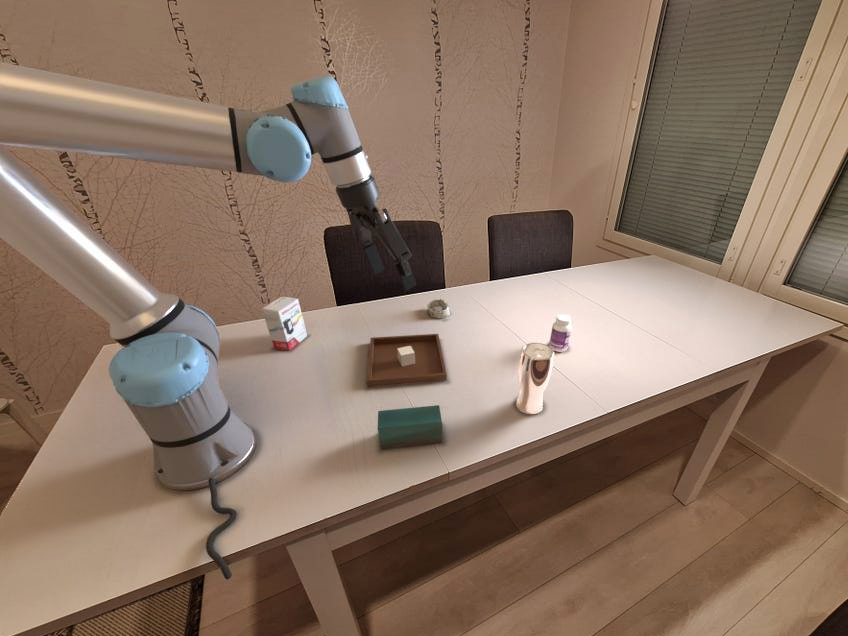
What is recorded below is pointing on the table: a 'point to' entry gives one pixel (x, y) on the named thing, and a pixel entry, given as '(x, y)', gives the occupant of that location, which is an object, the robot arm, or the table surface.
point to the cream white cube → (406, 356)
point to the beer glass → (534, 376)
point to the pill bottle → (560, 333)
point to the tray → (391, 372)
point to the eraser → (409, 427)
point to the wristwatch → (438, 303)
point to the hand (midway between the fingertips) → (394, 279)
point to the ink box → (285, 323)
